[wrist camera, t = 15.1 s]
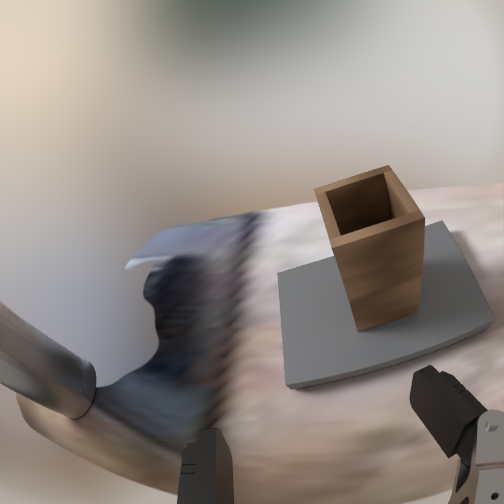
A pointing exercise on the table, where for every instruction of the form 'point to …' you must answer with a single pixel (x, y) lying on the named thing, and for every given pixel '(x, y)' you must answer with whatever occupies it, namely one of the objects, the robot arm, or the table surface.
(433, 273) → the plate
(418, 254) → the sleeve
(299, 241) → the table surface
